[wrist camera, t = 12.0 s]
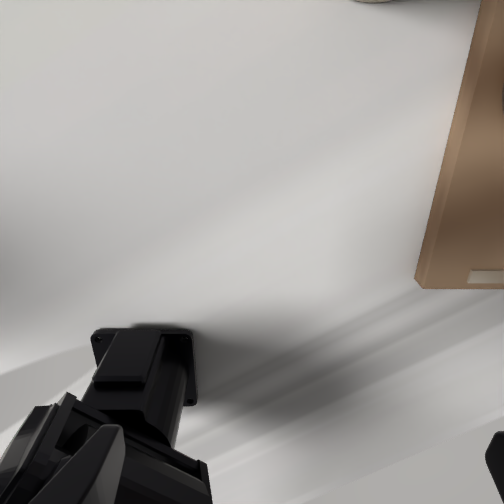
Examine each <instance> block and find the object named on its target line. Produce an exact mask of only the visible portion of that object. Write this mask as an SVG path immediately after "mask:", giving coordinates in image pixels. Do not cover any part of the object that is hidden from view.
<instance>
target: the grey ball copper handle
mask: <svg viewBox="0 0 504 504" xmlns="http://www.w3.org/2000/svg"><path fill="white" fill-rule="evenodd" d="M502 109H503V114H504V84H503V90H502Z"/></svg>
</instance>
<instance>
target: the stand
mask: <svg viewBox="0 0 504 504" xmlns="http://www.w3.org/2000/svg"><path fill="white" fill-rule="evenodd" d="M503 84H504V0H482V1H481V5H480V9H479V14H478V18H477V22H476V26H475V30H474V34H473V38H472V42H471V46H470V51H469V55H468V59H467V63H466V67H465V71H464V75H463V79H462V84H461V88H460V92H459V96H458V100H457V104H456V108H455V112H454V116H453V121H452V125H451V129H450V133H449V137H448V141H447V145H446V149H445V154H444V158H443V162H442V166H441V170H440V174H439V178H438V182H437V187H436V191H435V195H434V199H433V203H432V207H431V211H430V215H429V219H428V224H427V228H426V232H425V236H424V240H423V244H422V248H421V252H420V257H419V261H418V265H417V269H416V273H415V277H414V279H415V280H416V281H417V282H418V284H419V285H420V286H421V287H422V288H423V289H504V114H503V109H502V90H503Z"/></svg>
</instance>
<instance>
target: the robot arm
mask: <svg viewBox="0 0 504 504" xmlns="http://www.w3.org/2000/svg"><path fill="white" fill-rule="evenodd" d="M98 337H100V338H102V339H99V338H98ZM182 337H187V338H188V339H183V338H182ZM91 344H92V348H93V352H94V356H95V360H96V364H97V370H96V371H95V373H94V375H93V377H92V381H91V383H90V385H89V387H88V388H87V390H86V392H85V394H84V396H83V398H82V400H81V401H79V400H77V399H76V398H77V397H76V396H74V395H72V394H70V393H68V392H66V394H65V395H64V396H63V397H62V398H61V399H60V400H59V402H58V403H57V404H56V403H54V404H53V405H52V404H51V405H50V406H35V407H34V409H33V410H32V411H31V412H30V414H29V415H28V417H27V418H26V420H25V421H24V423H23V424H22V426H21V427H20V428H19V430H18V431H17V433H16V434H15V436H14V437H13V439H12V441H11V442H10V444H9V445H8V447H7V448H6V450H5V452H4V453H3V455H2V457H1V459H0V504H213V502H212V496H211V489H210V482H209V475H208V468H207V464H206V463H204V462H202V461H200V460H197V461H196V460H194V459H192V458H190V457H188V456H186V455H184V454H182V453H180V452H179V451H177V450H175V449H174V447H175V442H176V437H177V432H178V428H179V423H180V418H181V413H182V408H183V406H194V405H196V404H197V399H198V391H197V379H196V367H195V354H194V342H193V334H192V333H191V332H190V331H188V330H96V331H94V333H93V335H92V336H91ZM485 460H486V464H487V466H488V469H489V471H490V473H491V475H492V478H493V480H494V482H495V484H496V487H497V489H498V492H499V494H500V496H501V499H502V501H503V503H504V431H498V432H496V433H495V434H494V436H493V438H492V440H491V442H490V444H489V446H488V448H487V450H486V453H485Z"/></svg>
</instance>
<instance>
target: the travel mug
mask: <svg viewBox="0 0 504 504" xmlns="http://www.w3.org/2000/svg"><path fill="white" fill-rule="evenodd" d="M356 1H361V2H376V3H377V2H386V1H391V0H356Z"/></svg>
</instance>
